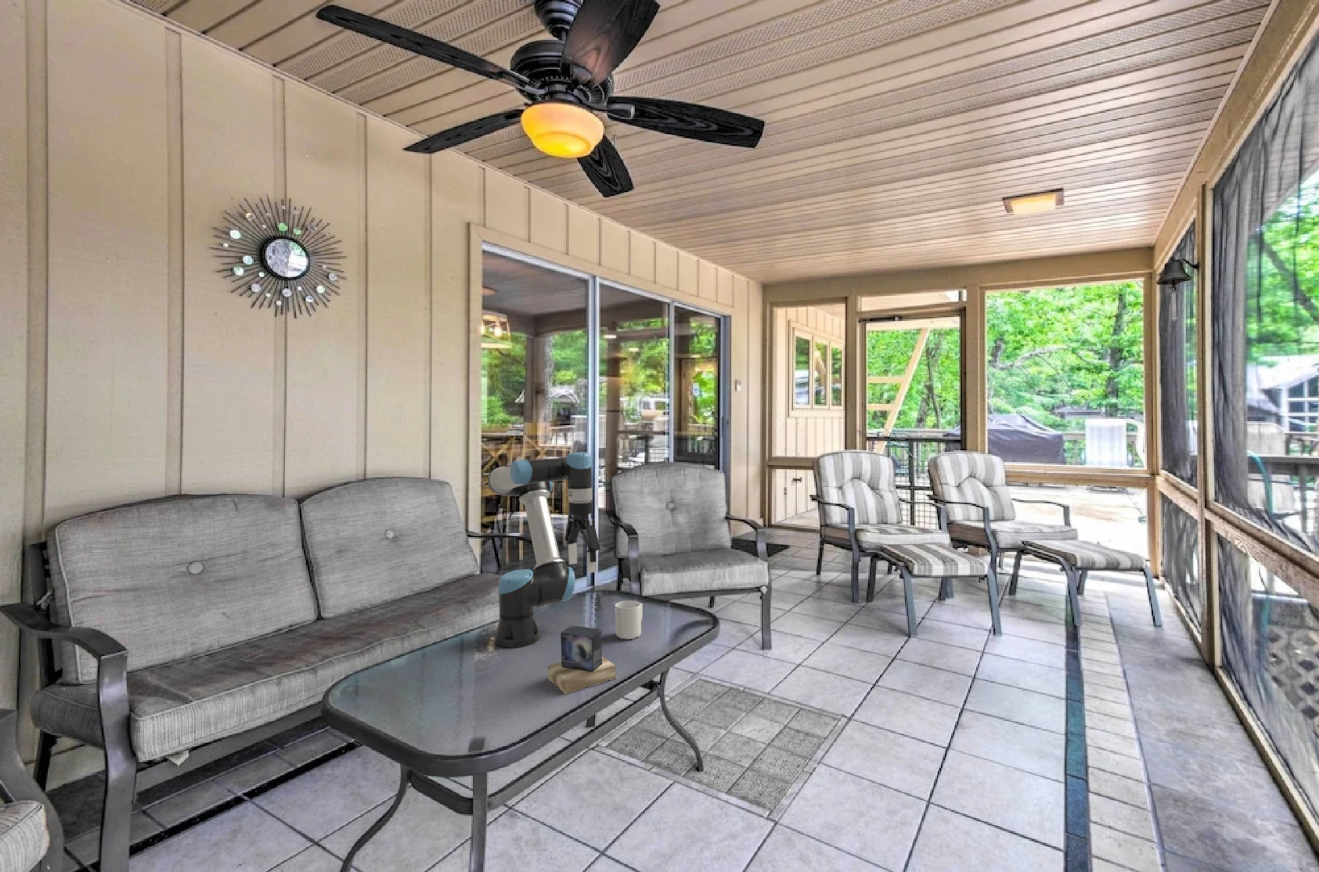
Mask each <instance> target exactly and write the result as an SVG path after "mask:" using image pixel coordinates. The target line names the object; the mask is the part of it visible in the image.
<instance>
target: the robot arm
mask: <svg viewBox="0 0 1319 872" xmlns="http://www.w3.org/2000/svg"><path fill="white" fill-rule="evenodd" d="M486 481H487V485H488V488H489V489H490V491H491V492H493V493H494V494H495V495H499V496H503V497H514V496H515V497H517V496H518V500H519V502H520V503H522V504H523V505H524V509H525V513H526V519H527V523H528V529H529V533H530V537H531V541H532V542H531V543H532V547H533V553H534V557H535V563H536V564H535V566H534V567H533V570H531V569H529V568H523V569H521V568H519V569H515V570H511V571H508V572H506V573H504V574H502V575H501V577H500V578H499V579H498V588H497V593H498V612H499V615H498V616H499V619H498V620H499V621H498V622H497V623H498V624H497V628H496V631H495V633H494V634H495V635H494V643H495V644H496V645H497V646H498V645H499V647H501V646H502V647H501V648H521V647H526V646H529V645H532V644H534V643H536V642H537V641H539V640H540V638H541V634H540V633H541V631H540V628H539V626H538V623H537V620H536V618H535V608H537V607H541V606H546V605H552V604H556V603H559V604H560V603H562V602H565V601H569V600H570V599H571V598H572V597H573V595H574V593H575V589H576V588H575V587H576V577H575V575H576V574H575V572H574V570H573V568H572V567H571V566H567V564H566V561H565V560H564V559H562V558H561V557H560V552H559V551H560V550H559V548H558V544H557V539H556V533H555V530H554V529H555V528H554V525H553V524H554V523H553V521H552V515H551V510H550V507H549V502H548V498H549V497H550V495H551V493H550V492H552V490H553V486H554V485H553V482H563V481H567V489H568V490H567V493H566V494H567V496H568V501H569V503H568V516H567V520H568V521H567V525H566V531H565V535H564V541H565V542H566V544H568V545H567V546H568V547H567V550H568V565H576V564H578V544H577V543H578V541H577V539H578V536H579V534H582V536H583V539H584V542H585V545H586V547H587V550H586V557H587V560H586V561H587V573H588V574H592V573H597V572H598V571H597V568H598V566H597V551H600V550H601V546H600V543H599V542H600V541H599V538H598V534H597V529H596V525H595V519H594V518H590V517H589V515H591V514H593V501H592V500H593V483H592V457H591V454H590V453H589V452H587V451H586V452H583V451H581V452H579V451H578V452H570V453H568V454H567V456H560V457H553V458H542V459H540V458H539V459H520V460H515V461H514V460H513V462H511V465H510V464H509V465H503V466H499V467H496V468H494V469H492V470H491V471H490V473H489V474H488V477H487V480H486Z"/></svg>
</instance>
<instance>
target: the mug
mask: <svg viewBox="0 0 1319 872" xmlns="http://www.w3.org/2000/svg"><path fill="white" fill-rule="evenodd" d="M614 613H615V615H614V617H615V619H614V620H615V636H616V637H618V639H620V638H621V639H620V640H623V639H625V640H624V641H629V639H632V640H636V639H637V638H636V637H638V638H639V637H640V635H642V620H643V603H641V602H639V601H637V600H623V601H619V602H616V603H615V604H614ZM635 638H636V639H635ZM626 639H628V640H626Z"/></svg>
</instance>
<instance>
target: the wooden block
mask: <svg viewBox="0 0 1319 872" xmlns="http://www.w3.org/2000/svg"><path fill="white" fill-rule="evenodd" d="M616 667H617V666H616V665H615V664H614V663H613V662H611V661H609V660H608V659H607V658H605V657H603V656H602V664H601V665H600V666H599V667H598V668H597V669H596V670H594V671H593V672H590V671H584V670H578V669H572V668H566V667H562V661H560V662H556V663H553V664H548V665H547V676H548V677H547V678H548V679H547V680H548V681H550V682H551V683H552V685H555V687H557V688H558V689H559V690H560V691H561V692H562V691H563V694H564V695H567V694H566V693H568V694H570V693H569V692H571V693H573V692H572V691H574V692H577V690H578V691H581V690H584V689H586V688H585V687H588V688H591V687H593V686H592V685H594V686H596V685H595V684H597V683H601V684H603V683H602V682H604V681H607V680H610V679H614V680H616V679H617V673H616V672H617V671H616V670H617V669H616ZM615 678H616V679H615ZM604 683H605V682H604ZM590 686H591V687H590ZM583 688H584V689H583ZM580 689H581V690H580Z"/></svg>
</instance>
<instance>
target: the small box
mask: <svg viewBox="0 0 1319 872" xmlns="http://www.w3.org/2000/svg"><path fill="white" fill-rule="evenodd" d="M560 646H561V647H560V650H561V652H560V653H561V662H562V667H566V668H572V669H578V670H584V671H590V672H593V671H594V670H596V669H597V668H598V667H599V666H600V665H601V664H602V657H603V655H602V653H603V652H602V648H603V647H602V629H601V628H594V627H587V626H578V625H569V626H568V627H566V628H565V629H564V630H562V631H560Z"/></svg>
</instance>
